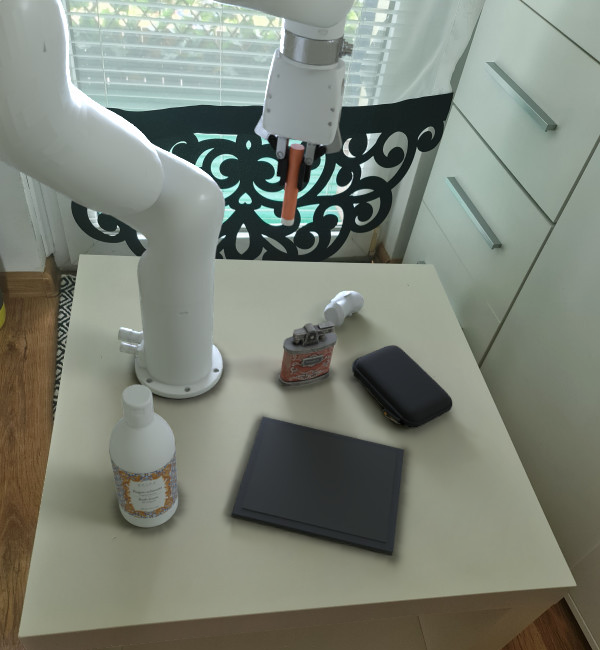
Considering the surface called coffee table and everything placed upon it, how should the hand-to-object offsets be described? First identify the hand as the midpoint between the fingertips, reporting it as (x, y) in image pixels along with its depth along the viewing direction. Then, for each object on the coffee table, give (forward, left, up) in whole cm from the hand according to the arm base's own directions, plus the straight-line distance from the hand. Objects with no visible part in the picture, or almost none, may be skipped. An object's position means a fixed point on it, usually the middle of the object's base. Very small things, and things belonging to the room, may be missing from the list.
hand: (292, 183), depth 89 cm
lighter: (+8, -18, -20) cm, 28 cm away
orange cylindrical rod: (0, 0, -7) cm, 7 cm away
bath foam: (-6, -45, -20) cm, 50 cm away
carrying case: (+22, -17, -20) cm, 35 cm away
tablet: (+14, -36, -20) cm, 44 cm away
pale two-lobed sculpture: (+11, -2, -20) cm, 23 cm away
